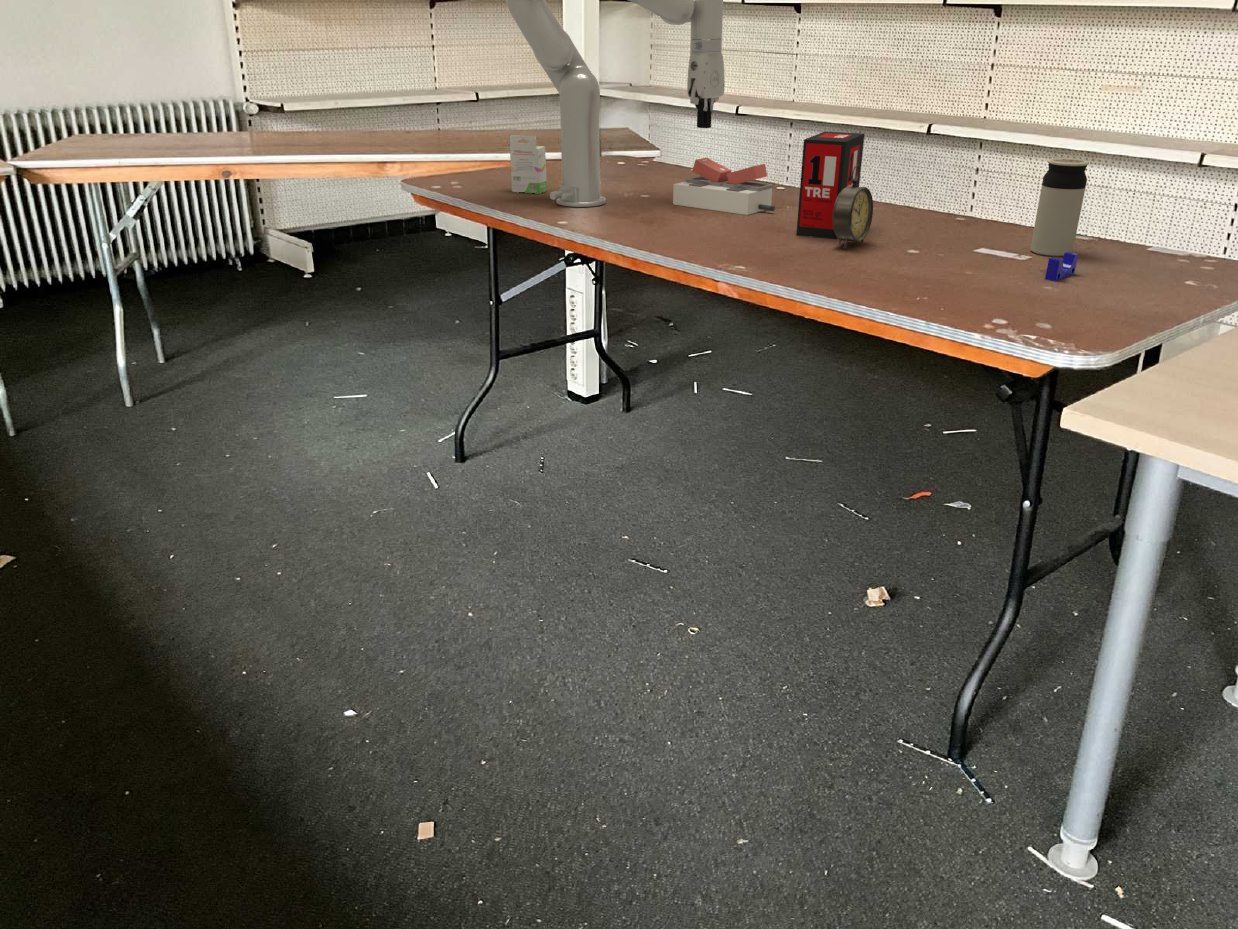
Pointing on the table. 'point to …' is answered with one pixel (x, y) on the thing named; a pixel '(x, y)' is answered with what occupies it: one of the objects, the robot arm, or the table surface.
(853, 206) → the alarm clock
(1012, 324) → the table surface
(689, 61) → the robot arm
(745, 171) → the block
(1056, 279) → the cable holder
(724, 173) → the rocker
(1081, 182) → the travel mug
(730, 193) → the power strip
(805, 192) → the cleaning product box
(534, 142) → the ink box
